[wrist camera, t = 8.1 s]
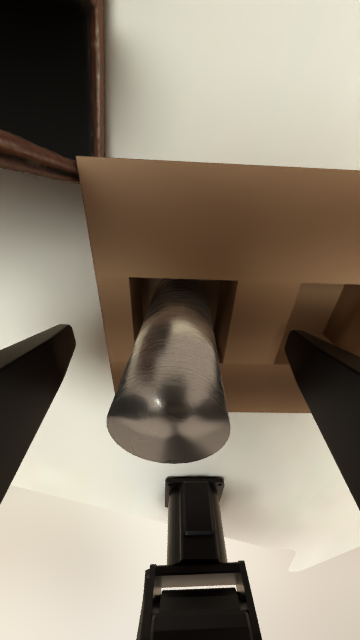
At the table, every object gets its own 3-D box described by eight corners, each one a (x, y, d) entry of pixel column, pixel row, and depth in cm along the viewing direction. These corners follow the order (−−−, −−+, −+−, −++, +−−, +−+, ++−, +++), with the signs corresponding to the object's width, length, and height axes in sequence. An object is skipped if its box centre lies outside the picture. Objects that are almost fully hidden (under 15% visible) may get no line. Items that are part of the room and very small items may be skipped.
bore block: (316, 372, 16) (349, 413, 13) (128, 369, 16) (117, 410, 13) (408, 182, 10) (509, 177, 7) (107, 168, 10) (75, 155, 7)
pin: (204, 322, 13) (220, 467, 6) (154, 319, 13) (113, 459, 6) (210, 274, 11) (241, 391, 4) (154, 270, 11) (98, 381, 4)
